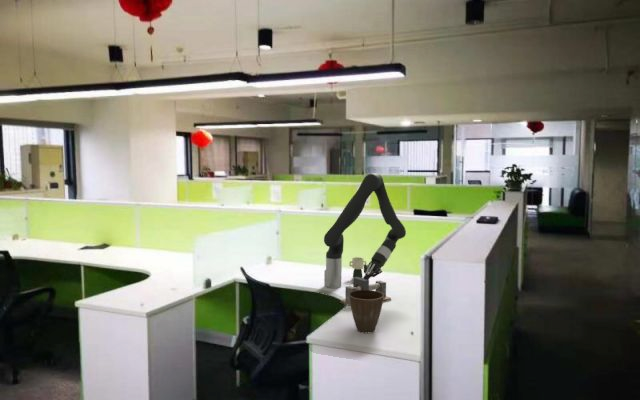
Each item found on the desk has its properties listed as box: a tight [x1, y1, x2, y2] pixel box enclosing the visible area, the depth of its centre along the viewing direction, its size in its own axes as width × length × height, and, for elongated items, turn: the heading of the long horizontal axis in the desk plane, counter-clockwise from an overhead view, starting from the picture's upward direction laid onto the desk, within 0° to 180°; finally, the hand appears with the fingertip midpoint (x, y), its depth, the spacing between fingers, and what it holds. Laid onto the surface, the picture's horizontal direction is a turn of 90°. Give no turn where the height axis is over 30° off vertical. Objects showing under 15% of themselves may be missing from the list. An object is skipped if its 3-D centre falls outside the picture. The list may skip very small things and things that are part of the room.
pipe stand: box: [340, 280, 392, 307], centre depth 253 cm, size 25×12×9 cm, turn 126°
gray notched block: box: [352, 277, 370, 290], centre depth 250 cm, size 3×9×9 cm, turn 36°
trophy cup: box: [349, 256, 367, 278], centre depth 302 cm, size 11×7×13 cm, turn 99°
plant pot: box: [349, 290, 384, 334], centre depth 208 cm, size 15×15×16 cm
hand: (364, 281), depth 251 cm, fingers closed
